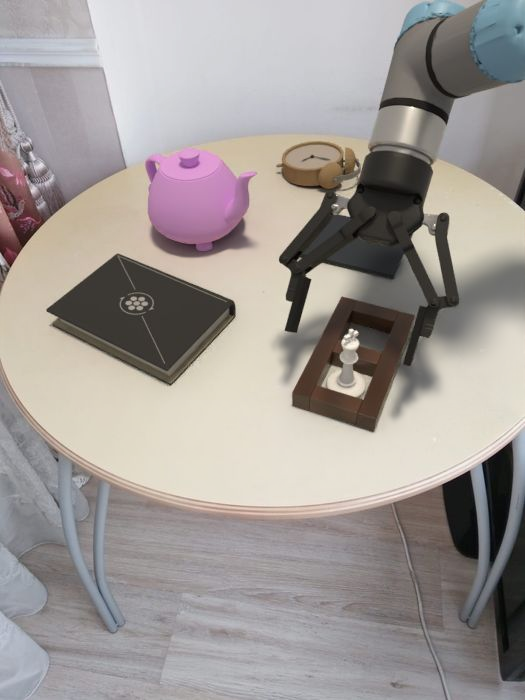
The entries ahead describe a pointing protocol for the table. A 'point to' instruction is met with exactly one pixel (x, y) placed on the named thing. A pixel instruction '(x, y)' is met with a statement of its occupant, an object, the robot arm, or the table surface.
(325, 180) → the alarm clock
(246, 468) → the table surface
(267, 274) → the table surface
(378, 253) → the mat
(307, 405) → the holder
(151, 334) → the book
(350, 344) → the chess piece
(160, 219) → the teapot
